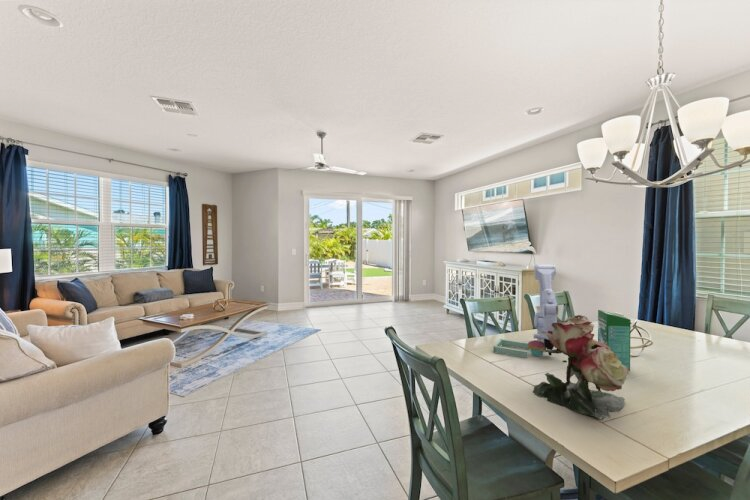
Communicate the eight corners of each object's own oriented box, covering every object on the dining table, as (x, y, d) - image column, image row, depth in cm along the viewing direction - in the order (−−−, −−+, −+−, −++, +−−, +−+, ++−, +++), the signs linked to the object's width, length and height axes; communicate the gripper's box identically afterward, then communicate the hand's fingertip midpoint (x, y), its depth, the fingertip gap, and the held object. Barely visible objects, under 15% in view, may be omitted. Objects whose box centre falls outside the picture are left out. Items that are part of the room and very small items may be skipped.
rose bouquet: (618, 428, 101) (618, 331, 100) (526, 393, 125) (526, 315, 124) (644, 403, 116) (645, 318, 115) (558, 376, 140) (558, 306, 139)
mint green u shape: (500, 344, 182) (500, 339, 182) (532, 349, 174) (532, 343, 174) (493, 352, 170) (493, 346, 170) (527, 358, 161) (527, 352, 161)
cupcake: (542, 352, 169) (542, 328, 169) (549, 357, 161) (549, 333, 160) (525, 351, 170) (525, 328, 170) (531, 357, 162) (531, 333, 161)
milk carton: (630, 371, 144) (630, 314, 143) (607, 369, 145) (607, 313, 145) (619, 363, 153) (619, 309, 152) (597, 362, 154) (597, 309, 154)
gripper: (532, 327, 162) (532, 354, 163) (566, 331, 154) (566, 360, 155) (534, 324, 168) (534, 350, 169) (567, 328, 160) (567, 355, 161)
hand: (550, 354), depth 162 cm, fingers closed
